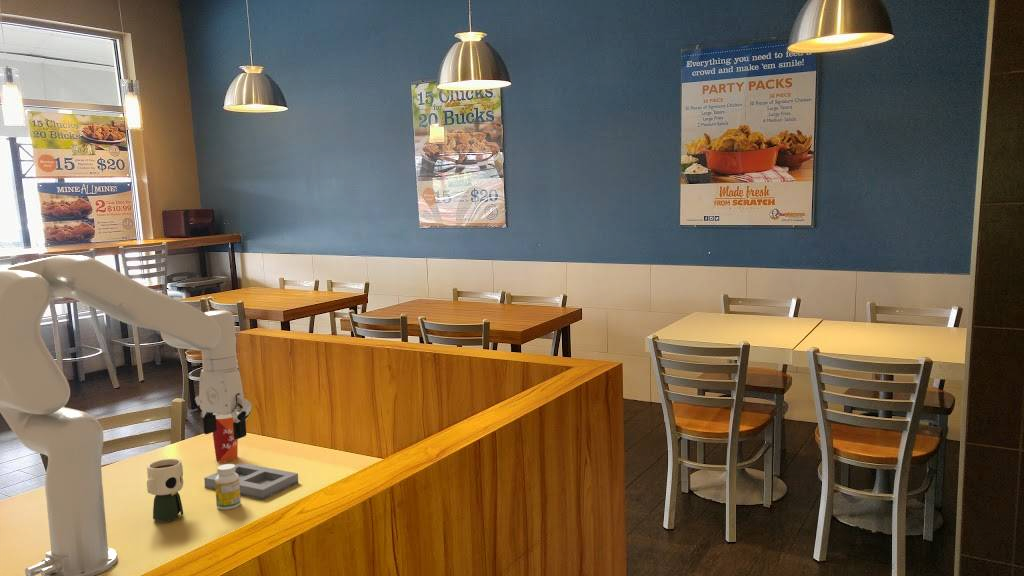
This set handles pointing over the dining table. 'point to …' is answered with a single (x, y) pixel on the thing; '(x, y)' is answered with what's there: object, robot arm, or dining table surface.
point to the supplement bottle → (227, 487)
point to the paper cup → (225, 438)
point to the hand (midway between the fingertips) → (225, 435)
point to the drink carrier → (258, 480)
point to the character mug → (165, 488)
